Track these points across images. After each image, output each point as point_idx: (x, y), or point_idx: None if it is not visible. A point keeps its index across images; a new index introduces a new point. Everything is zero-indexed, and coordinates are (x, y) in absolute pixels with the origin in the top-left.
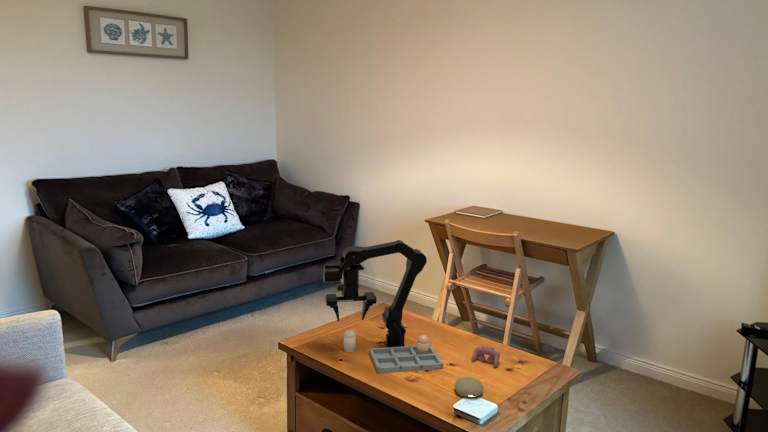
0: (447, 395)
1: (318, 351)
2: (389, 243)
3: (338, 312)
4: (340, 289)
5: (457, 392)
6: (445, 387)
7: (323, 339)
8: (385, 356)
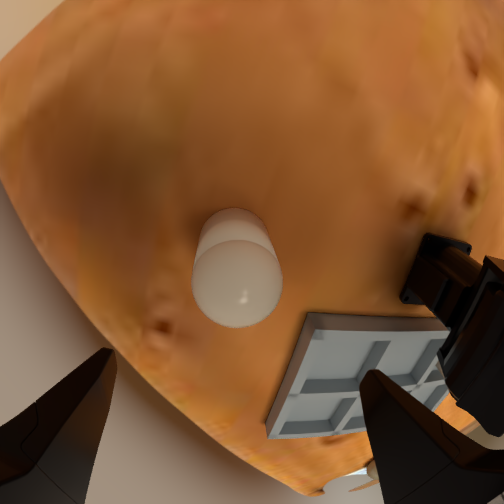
0: (351, 466)
1: (72, 221)
2: None
3: (86, 487)
4: None
5: (367, 467)
6: (369, 452)
7: (124, 71)
8: (351, 350)
